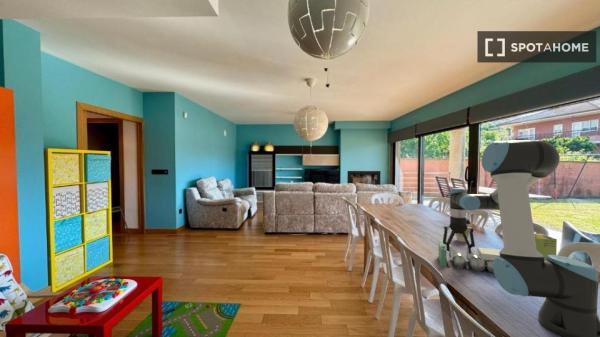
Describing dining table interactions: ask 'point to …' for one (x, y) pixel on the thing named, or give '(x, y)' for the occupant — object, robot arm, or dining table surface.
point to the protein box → (545, 245)
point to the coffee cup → (460, 236)
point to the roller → (458, 259)
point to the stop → (442, 254)
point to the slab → (488, 253)
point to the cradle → (449, 263)
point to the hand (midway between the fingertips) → (458, 257)
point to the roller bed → (480, 263)
